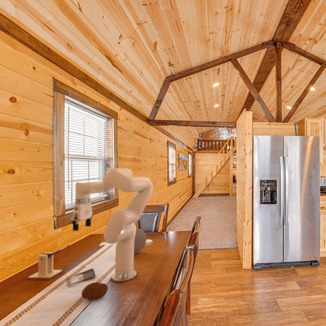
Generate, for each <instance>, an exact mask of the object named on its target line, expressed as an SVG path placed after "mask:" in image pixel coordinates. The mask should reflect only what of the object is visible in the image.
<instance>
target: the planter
mask: <svg viewBox="0 0 326 326" xmlns="http://www.w3.org/2000/svg"><path fill="white" fill-rule="evenodd" d="M147 241H148V240H147V235H146V233H145V231H144V230H143V229H141V228H138V227H136V235H135V240H134V254H138V253H139V252H141V251H142V250H143V249H144V248H145V247H146V245H147Z"/></svg>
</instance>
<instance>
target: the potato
mask: <svg viewBox="0 0 326 326" xmlns="http://www.w3.org/2000/svg"><path fill="white" fill-rule="evenodd" d="M108 289H109V287H108V284H107V283H105V282H104V283H102V282H99V281H93V282H91V283H88V284H87V285H86V286H85V287H84V288H83V289H82V291H81V297H82V298H83V299H84V300H89V301H96V300H99V299H101V298H103V297H104V296H105V295H106V294H107V292H108Z"/></svg>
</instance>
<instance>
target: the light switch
mask: <svg viewBox="0 0 326 326" xmlns="http://www.w3.org/2000/svg"><path fill="white" fill-rule="evenodd" d="M80 275H82V276H80ZM77 276H79V277H78V279H79V280H78V281H76V282H73V283H72V285H75V284H79V283H82V282H86V281H88V280H90V279H93V278H96V273H95V270H94V268H89V269H87V270H84V271H81V272H79V273H77V274H74V275H71V276H70V278H72V277H77Z"/></svg>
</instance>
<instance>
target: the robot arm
mask: <svg viewBox="0 0 326 326" xmlns="http://www.w3.org/2000/svg"><path fill="white" fill-rule="evenodd" d="M114 188H116V189H118V190H119V191H121V192H123V193H127V194H128V193H129V194H131V193H135V194H134V195H133V196H132V198H131V199H130V202H129V203H128V205H127V206H125V207H123V208H119V209H116V210H114V212H113V213H112V214H111V216H110V217H109V220H108V222H107V224H106V226H105V229H104V231H103V240H104V242H105V243H106V244H111V245H112V244H115V243H116V245H115V256H114V257H115V260H114V261H115V262H114V274H113V275H111V280H112V281H113V282H126V281H129V280H132V279H133V278H135V277H136V276H137V274H138V273H137V270H135V268H134V267H135V253H134V240H135V235H136V228H137V226H136V224H135V223H136V222H138V221H139V220H140V218H141V217H142V214H143V212H144V210H145V208H146V206H147V204H148V202H149V200H150V199H151V197H152V195H153V191H154V184H153V182H152V180H151V179H150V178H149V177H148V176H142V175H141V176H134V173H133V171H132V170H131V169H129V168H127V167H112V168H109V169H108V170H107V171H106V172H105V175H104V176H103V178H102V180H95V181H94V180H93V181H87V180H82V181H76V183H75V195H74V196H75V198H74V199H75V200H74V205H73V213H72V216H70V217H69V221H70V223H71V225H72V231H74V232H78V231H79V228H80V227H79V225H80V224H79V222H80V221H84V220H85V225H84V226H85V227H89V228H90V227H91V226H92V220H93V216H94V213H95V212H94V211H93V208H92V202H91V195H93V194H102V193H105V192H108V191H111V190H112V189H114Z"/></svg>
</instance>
